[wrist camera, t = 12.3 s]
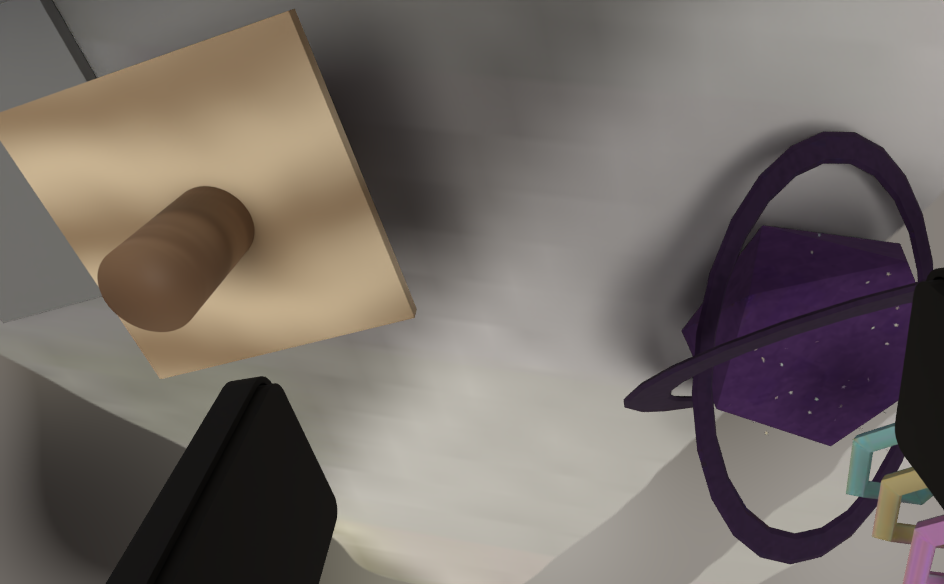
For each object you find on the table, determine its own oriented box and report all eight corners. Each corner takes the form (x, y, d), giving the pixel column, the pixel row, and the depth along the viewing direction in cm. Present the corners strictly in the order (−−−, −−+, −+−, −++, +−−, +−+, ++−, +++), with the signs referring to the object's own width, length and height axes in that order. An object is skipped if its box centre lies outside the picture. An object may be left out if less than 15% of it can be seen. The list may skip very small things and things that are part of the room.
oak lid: (-2, 112, 27) (-145, 163, 21) (294, 8, 24) (226, 33, 18) (167, 369, 33) (94, 463, 28) (416, 309, 31) (395, 398, 25)
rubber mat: (-173, 73, 39) (-188, 76, 38) (45, -11, 36) (34, -10, 35) (12, 316, 47) (3, 323, 46) (202, 263, 44) (196, 270, 43)
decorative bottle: (667, 444, 50) (789, 838, 28) (553, 228, 41) (603, 555, 20) (977, 337, 44) (1438, 734, 22) (920, 56, 35) (1584, 256, 14)
